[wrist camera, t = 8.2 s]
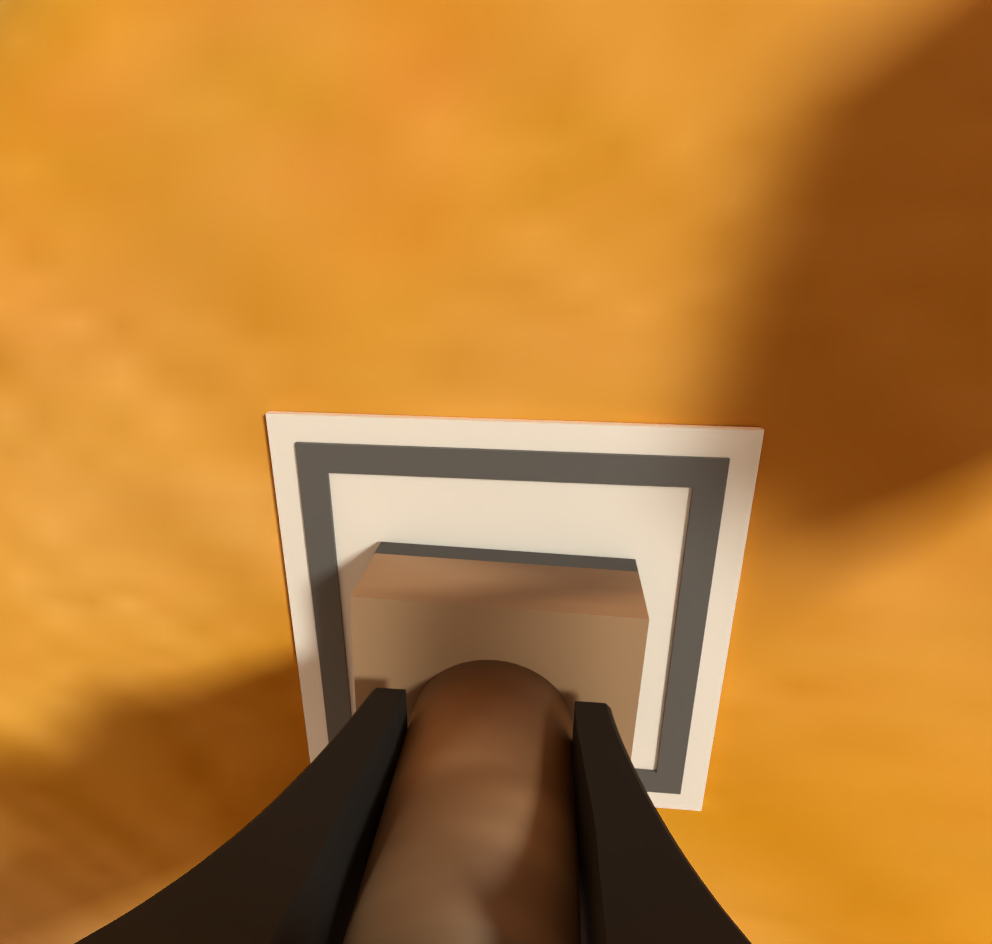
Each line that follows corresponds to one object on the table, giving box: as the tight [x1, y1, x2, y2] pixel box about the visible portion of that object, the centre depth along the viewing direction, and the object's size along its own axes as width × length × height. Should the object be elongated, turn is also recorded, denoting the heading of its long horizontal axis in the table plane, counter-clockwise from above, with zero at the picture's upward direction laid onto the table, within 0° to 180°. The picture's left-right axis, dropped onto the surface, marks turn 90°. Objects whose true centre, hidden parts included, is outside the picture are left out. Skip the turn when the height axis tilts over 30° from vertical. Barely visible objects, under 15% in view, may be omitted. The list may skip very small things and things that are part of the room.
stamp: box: [343, 542, 649, 944], centre depth 13 cm, size 6×6×8 cm
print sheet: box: [266, 411, 764, 811], centre depth 17 cm, size 11×11×1 cm
